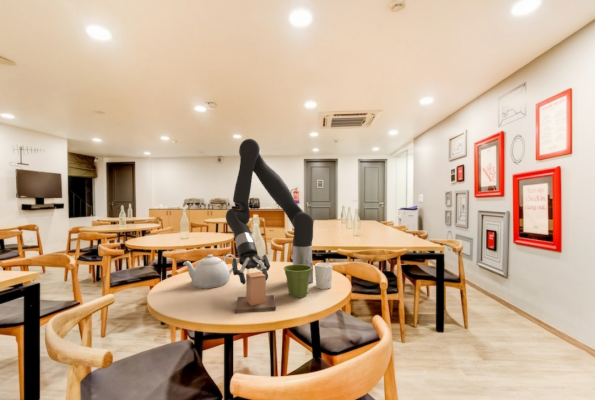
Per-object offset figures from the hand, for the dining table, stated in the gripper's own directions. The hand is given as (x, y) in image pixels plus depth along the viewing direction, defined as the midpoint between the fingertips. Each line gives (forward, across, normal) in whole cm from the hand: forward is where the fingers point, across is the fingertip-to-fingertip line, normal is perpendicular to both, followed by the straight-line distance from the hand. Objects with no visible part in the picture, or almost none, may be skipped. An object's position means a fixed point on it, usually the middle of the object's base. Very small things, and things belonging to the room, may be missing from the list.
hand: (255, 281), depth 97 cm
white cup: (+4, +33, +9) cm, 35 cm away
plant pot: (+6, +18, +7) cm, 20 cm away
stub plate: (+6, 0, +5) cm, 8 cm away
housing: (+6, 0, +5) cm, 7 cm away
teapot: (-18, -10, +31) cm, 37 cm away
